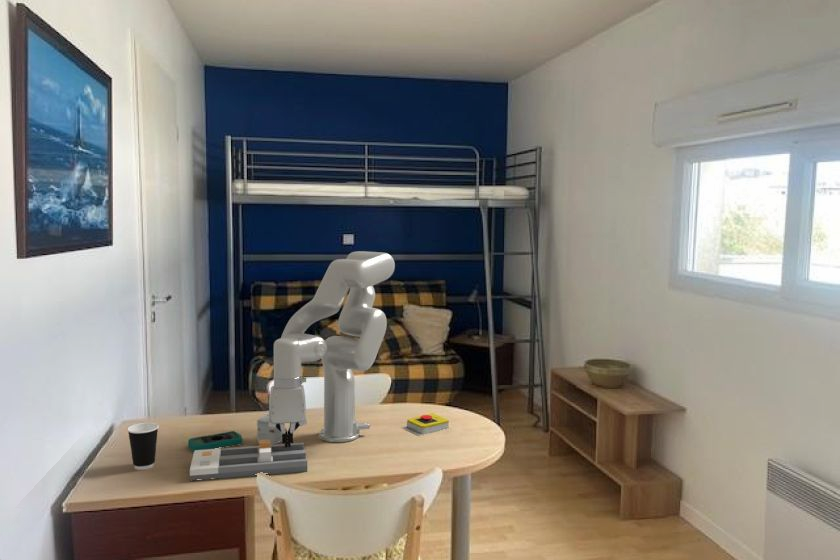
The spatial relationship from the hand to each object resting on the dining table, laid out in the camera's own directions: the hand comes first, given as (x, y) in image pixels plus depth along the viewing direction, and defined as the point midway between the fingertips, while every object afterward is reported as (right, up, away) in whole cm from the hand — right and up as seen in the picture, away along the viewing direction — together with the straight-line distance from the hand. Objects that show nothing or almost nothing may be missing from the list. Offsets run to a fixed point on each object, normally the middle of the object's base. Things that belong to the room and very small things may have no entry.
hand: (287, 445), depth 181 cm
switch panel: (-9, -4, -5) cm, 11 cm away
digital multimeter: (-24, -3, +10) cm, 26 cm away
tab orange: (-6, -2, -1) cm, 7 cm away
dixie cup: (-38, -4, -7) cm, 39 cm away
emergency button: (+40, -2, +29) cm, 50 cm away
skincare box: (-8, -3, +14) cm, 17 cm away
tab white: (-4, -3, -8) cm, 10 cm away
